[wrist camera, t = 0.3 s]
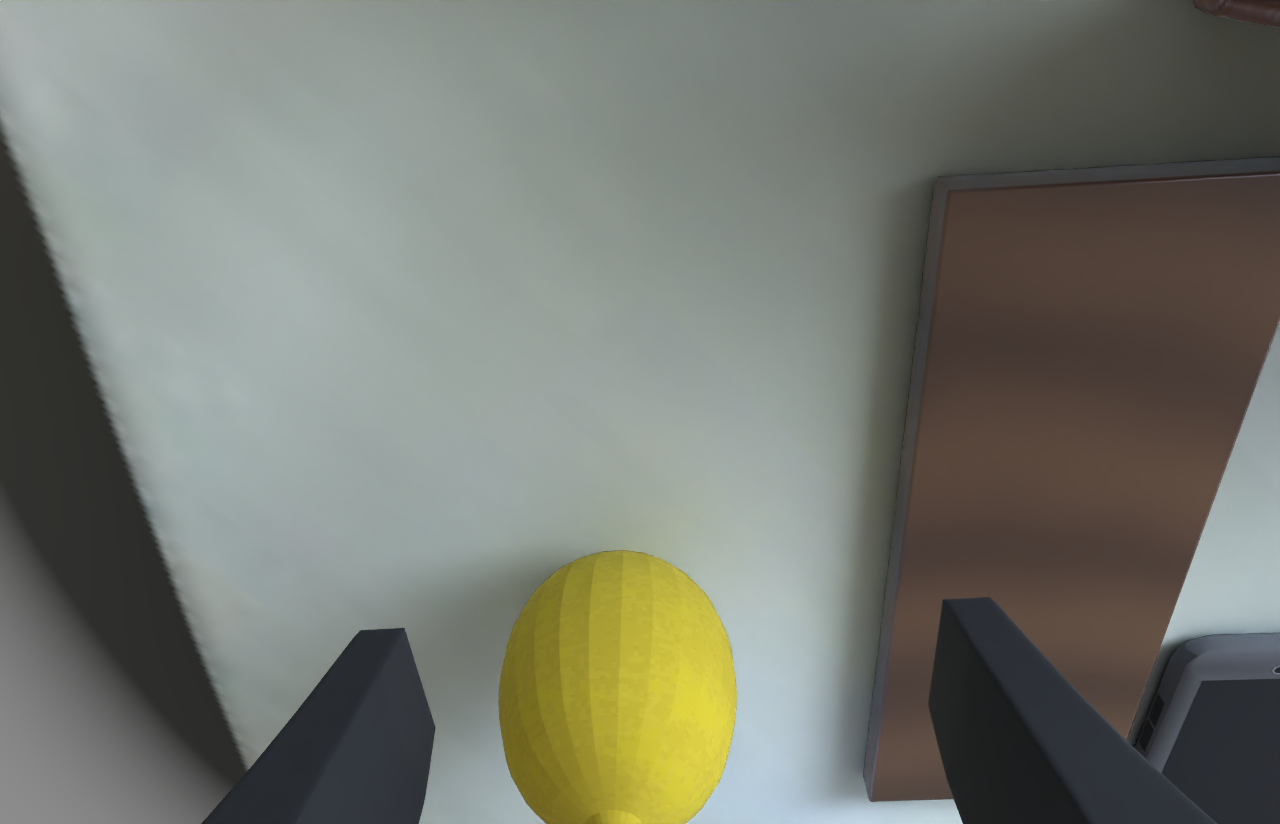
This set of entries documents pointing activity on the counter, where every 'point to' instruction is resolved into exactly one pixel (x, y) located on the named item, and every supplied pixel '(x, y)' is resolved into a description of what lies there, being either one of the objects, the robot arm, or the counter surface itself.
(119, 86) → the counter surface
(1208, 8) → the letter holder
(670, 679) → the lemon
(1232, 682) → the cell phone
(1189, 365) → the back board
